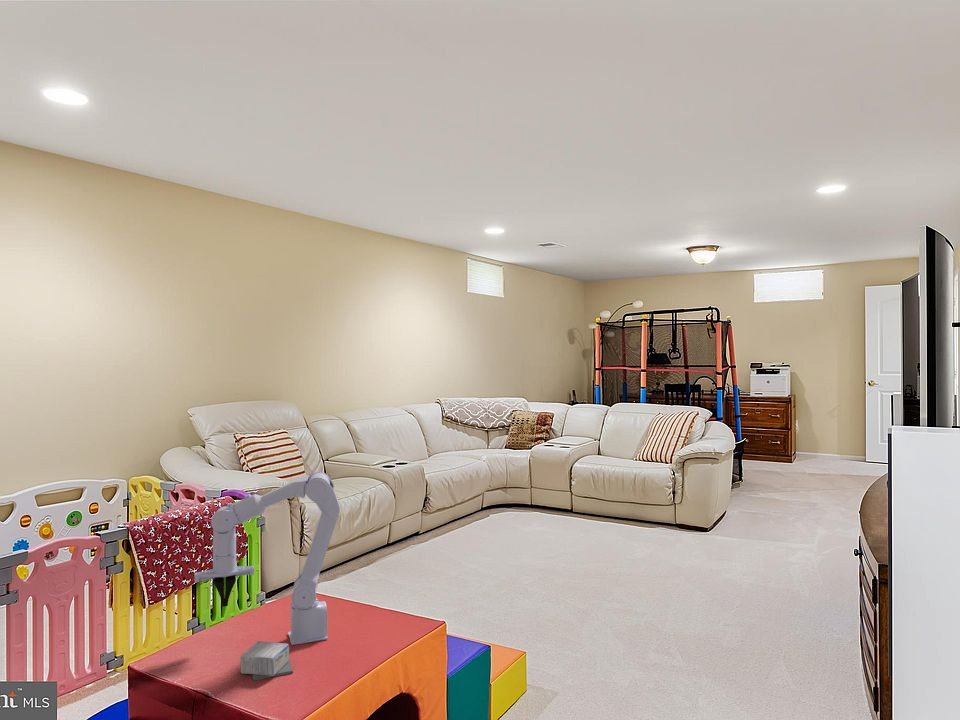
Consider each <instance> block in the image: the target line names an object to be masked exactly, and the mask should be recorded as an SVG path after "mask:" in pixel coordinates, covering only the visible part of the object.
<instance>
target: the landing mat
mask: <svg viewBox="0 0 960 720" xmlns="http://www.w3.org/2000/svg"><path fill="white" fill-rule="evenodd" d="M290 674H294V669H293V666H292V662H291V659H290V658H289V661H288V662H287V663H286V664H285V665H284V666H283V667H282V668H281V669H280V670H279V671H278V672H277V673H276V674H275V675H274V676H267V675H256V674H251V675H252V682H253V681H259V680H264V679H268V678H274V677H279V676H284V675H290Z"/></svg>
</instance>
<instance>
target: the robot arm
mask: <svg viewBox="0 0 960 720" xmlns="http://www.w3.org/2000/svg"><path fill="white" fill-rule="evenodd" d="M293 497H298V498H301V499H305V497H307V498H308V499H310V500H311V502H313V503H314V504H316V506H317V507H318V509H319V511H320V512H321V513H320V516H319V520H318V523H317V525H316V528H315V531H314V535H313V538H312V541H311V544H310V546H309V550H308V553H307V556H306V559H305V563H304V565H303V567H302V570H301V573H300V574H299V576H298V577H297V578H296V579H295V581H294V583H293V589H292V590H293V591H292V593H291V603H290V631H288V632H287V635H288V638H290V639H289V641H290V644H291V646H294V645H295V646H296V645H301V644H307V643H312V642H319V641H324V640H328V639H329V637H328V608H327V607H328V606H327V602H326V601H324V600H323V601H319V598H317V590H318V589H317V588H318V581H319V576H320V573H321V569H322V567H323V565H324V561H325V557H326V555H327V551H328V549H329V545H330V542H331V539H332V536H333V534H334V531H335V527H336V524H337V520H338V518H339V514H340V510H341V505H340V502H339V498H338V495H337V492H336V488H335V483H334V482H333V480H332V479H331V478H330V477H329V475H328V474H327V473H325V472H323V471H316V472H314V473H311V474H310V475H309V474H307V475H303V476H302V477H299V478H296V479H294V480H291V481H290V482H288V483H286V484H284V485H282V486H279V487H277V488H276V489H273V490H272V491H270V492H267V493H265V494H263V495H259V494H256V493H254V494H251V493H248V494H246V495H244V498H242V499H240V500H238V501H235V502H234V503H232V502H229V503H227V504H226V505H227V506H221V507H220V508H218V509H217V510H216V511H215V513H214V514H213V515H212V517H211V520H210V524H211V525H210V526H211V528H212V529H213V531H212V534H213V537H212V569H207V570H204V571H203V570H202V571H197V572H194V583H199V582H202V581H209V580H210V581H211V580H213V585H214V587H215V588H216V590H217V592H218V595H219V598H220V601H221V607H228V606H229V599H230V596H231V593H232V590H233V588H234V586H235V583H236V581H237V577H240V576H255V566H254V565H243V566H242V565H240V566H239V565H237V535H236V525H241V524H244V523H245V522H248V521H250V520H253V519H254V518H257V517H259V516H261V515H263V514H264V512H265V511H266V508H267V507H270V506H272V505H275V504H277V503H280V502H283V501H284V500H287V499H290V498H293Z"/></svg>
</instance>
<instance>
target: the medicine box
mask: <svg viewBox="0 0 960 720" xmlns="http://www.w3.org/2000/svg"><path fill="white" fill-rule="evenodd" d="M289 659H290V646H289V643H286V642H284V643H282V642H273V641H259V640H258V641H256V642H255V643H254V644H252V646H251V647H249V648H248V649H247V650H245V651H244V652H243V654H241V655H240V673H241V674H248V675H252V674H256V675H267V676H274V675H275V674H276V673H277V672H278V671H279V670H280V669H281V668H282V667H283V666H284V665H285V664H286V663H287V662H288V661H289Z"/></svg>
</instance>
